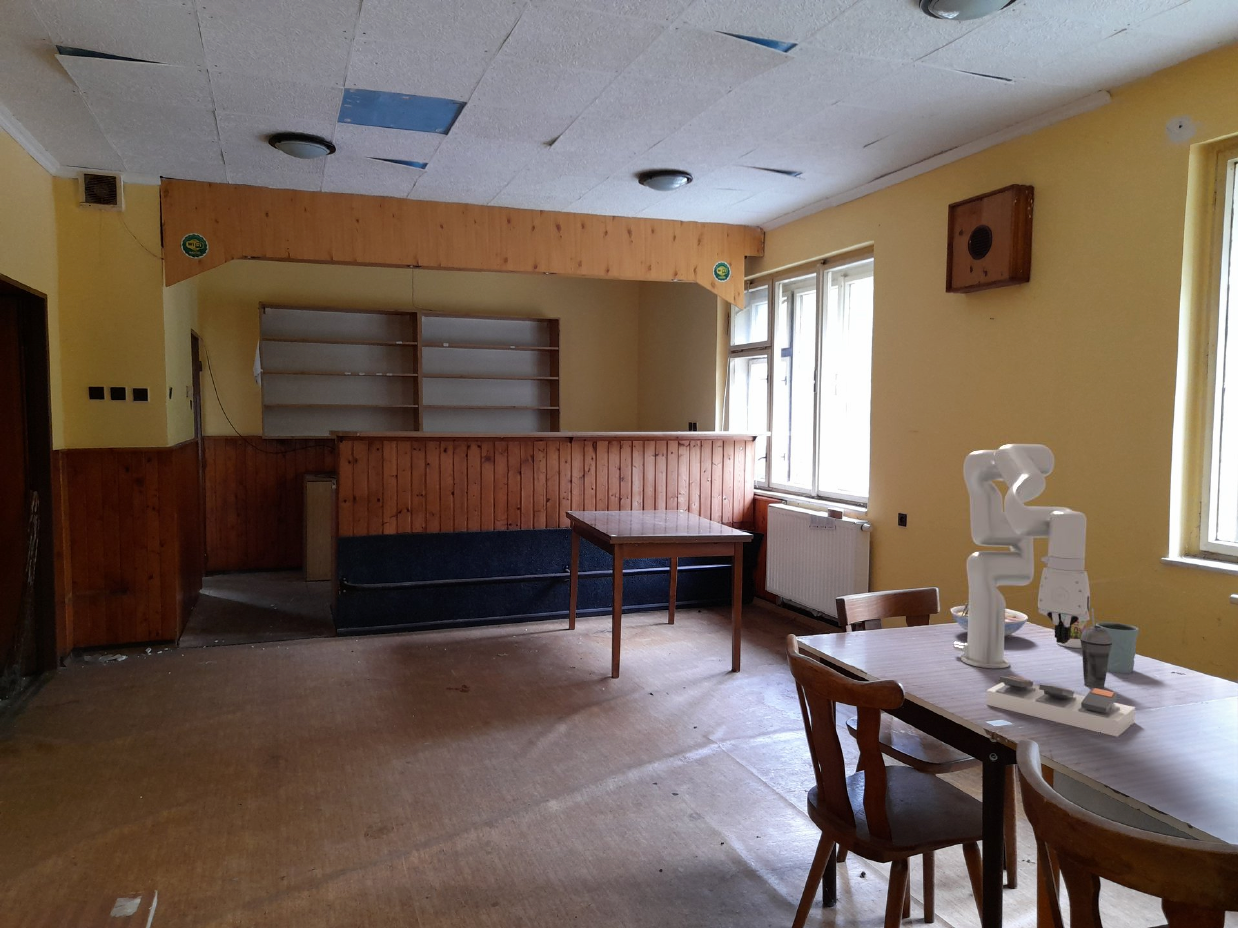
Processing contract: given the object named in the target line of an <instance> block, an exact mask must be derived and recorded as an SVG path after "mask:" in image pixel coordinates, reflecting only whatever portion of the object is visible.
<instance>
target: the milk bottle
mask: <svg viewBox="0 0 1238 928" xmlns="http://www.w3.org/2000/svg"><path fill="white" fill-rule="evenodd" d="M1065 616H1066V614H1062V622H1063V624H1064V621H1065ZM1086 628H1087V621H1077V622H1076V623H1074V624H1073V625H1071V638H1070V640H1068V642H1067V643H1065V644H1062V643H1061V642H1060V643H1057V642H1056V643H1057V645H1060V646H1062V647H1067V648H1074V649H1082V648H1081V641H1080V639H1081V635H1082V633H1083V631H1084V630H1085V629H1086Z"/></svg>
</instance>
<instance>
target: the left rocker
mask: <svg viewBox="0 0 1238 928" xmlns="http://www.w3.org/2000/svg"><path fill="white" fill-rule="evenodd" d="M998 682H999V683H1004V685H1006V686H1011V687H1015V688H1020V689H1024V690H1027V687H1033V685H1034V681H1033V680H1030V679H1026V678H1021V677H1017V676H999V677H998Z"/></svg>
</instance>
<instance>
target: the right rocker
mask: <svg viewBox="0 0 1238 928" xmlns="http://www.w3.org/2000/svg"><path fill="white" fill-rule="evenodd" d="M1117 699H1118V692H1114V691H1110V690H1106V689H1105V690H1104V689H1102V688H1091V689H1090V691H1088V693H1087V695H1086V697H1085V698H1084V700H1083V701H1082V702H1081V708H1085V709H1090V710H1094V711H1099V712H1103V713H1107V712H1108V710H1109V709H1112V705H1113V703H1116V701H1117Z"/></svg>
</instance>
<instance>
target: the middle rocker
mask: <svg viewBox="0 0 1238 928" xmlns="http://www.w3.org/2000/svg"><path fill="white" fill-rule="evenodd" d="M1038 686H1039V690H1044V694H1046V695H1051V696H1055V697H1060V698H1064V699H1068V696H1072V697H1073V695H1074V694H1075V692H1074V690H1073V691H1072V690H1071V689H1066V688H1062V687H1058V686H1053V685H1046V684H1039V685H1038Z"/></svg>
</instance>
